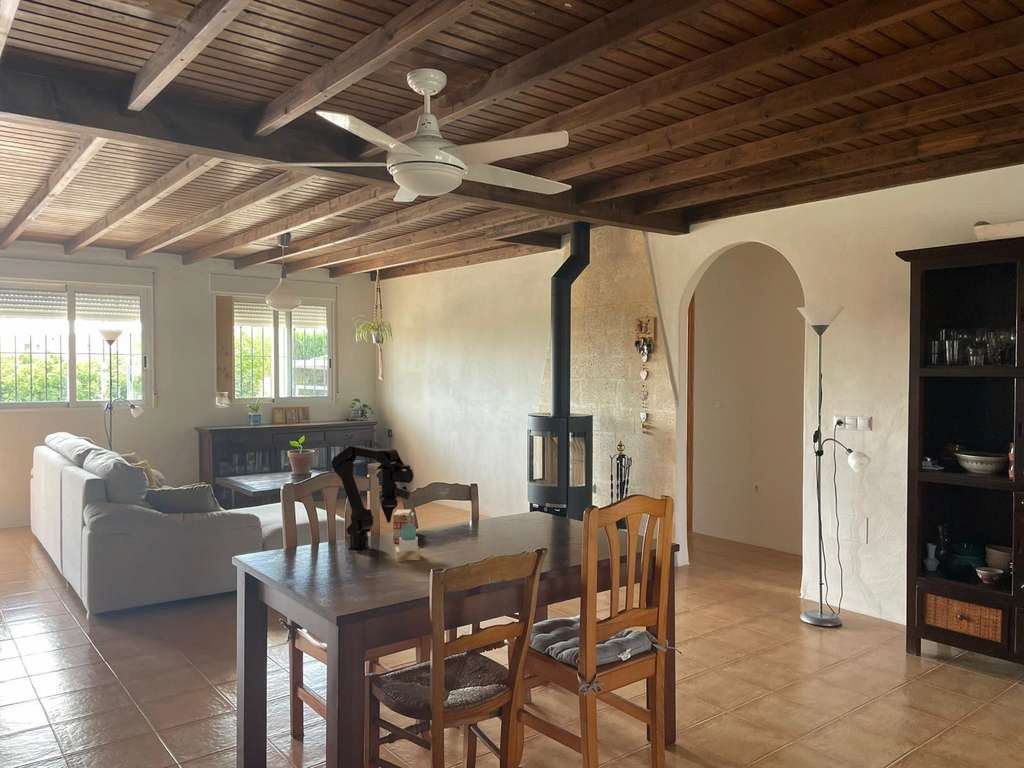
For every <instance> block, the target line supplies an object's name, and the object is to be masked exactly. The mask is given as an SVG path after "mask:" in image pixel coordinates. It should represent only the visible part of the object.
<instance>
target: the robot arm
mask: <svg viewBox="0 0 1024 768" xmlns="http://www.w3.org/2000/svg"><path fill="white" fill-rule="evenodd" d="M358 457H361V458H365V459H370V460H371V459H372V460H374V461H375V462H377V463H379V466H377V468H376V470H381V479H380V480H381V483H380V485H381V492H380V495H379V496H380V498H379V499H380V500H379V501H380V506H381V507H380V508H381V509H382V512H383V514H384V516H385V520H386V522H387V523H388V524H389V523H391V521H392V518H393V517H392V516H393V511H394V510H395V509H396V508H397V507H398V497H399V498H402V499H404V500H406V501H408V500H409V498H410V495H411V491H410V490H408V488H407V486H405V485H402V486H401V487H400V486H398V485H397V483H403V484H404V483H405V484H411V482H412V481H413V479H414V472H413V469H412V468H411V465H409V464H408V465H405V463H403V461H402V459H401V456H400V455H399V453H398V450H397V449H395V448H385V449H378V448H377V449H376V448H373V447H367V446H364V445H363V446H361V445H359V444H355V445H353V444H352V445H348V447H346V448H345V449H344V450H342V451H341V452H340V453H338V454H337V455H336V456H334V457H333V458H332V461H331V467H332V469H333V471H334V473H335V474H336V475H337V476H338V477H339V478H340V479H341V482H342V486H343V488H344V491H345V494H346V497H347V500H348V503H349V506H350V508H351V514H350V521H351V523H350V524H349V525H348V527H347V528H346V533H347V535H349V541H350V542H349V547H347V549H348V550H354V551H355V550H356V551H357V550H359V551H363V550H365V549H368V548H369V547H370V545H369V535H368V533H370V532H371V530H372V527H373V525H374V516H373V513H372V510H371V509H370V508H368V509H367V508H365V506H364V504H363V501H362V497H361V495H360V491H359V489H358V486H357V483H356V480H355V476H354V474H353V473H354V468H355V466H354V465H355V464H354V463H355V461H356V460H357V458H358Z"/></svg>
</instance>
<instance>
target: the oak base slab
mask: <svg viewBox="0 0 1024 768" xmlns="http://www.w3.org/2000/svg"><path fill="white" fill-rule="evenodd" d="M394 556H395V561H396V562H406V561H405V560H420V561H421V549H420V546H418V551H399V546H395V555H394Z"/></svg>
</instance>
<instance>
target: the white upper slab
mask: <svg viewBox="0 0 1024 768" xmlns="http://www.w3.org/2000/svg"><path fill="white" fill-rule="evenodd" d="M418 538H419V537H418V536H416V539H414V540H402V539H401V537H399V543H398V547H399V551H418V544H419V543H418V542H419V541H418V540H419V539H418Z"/></svg>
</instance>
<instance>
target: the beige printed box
mask: <svg viewBox="0 0 1024 768" xmlns="http://www.w3.org/2000/svg"><path fill="white" fill-rule="evenodd" d="M392 516H393V517H392V519H393V522H392V524H393V525H392V526H393V528H392V530H393V536H392V543H393V542H399V537H401V526H402V525H406V524H412V525H415V513H414V512H412V509H397V510H396V512H394V513H393V514H392Z"/></svg>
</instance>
